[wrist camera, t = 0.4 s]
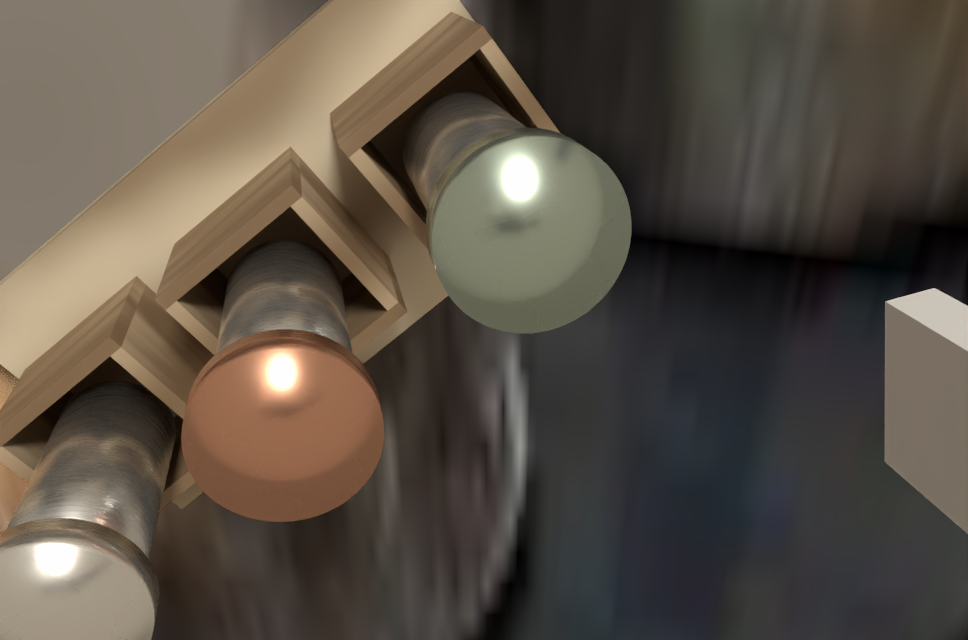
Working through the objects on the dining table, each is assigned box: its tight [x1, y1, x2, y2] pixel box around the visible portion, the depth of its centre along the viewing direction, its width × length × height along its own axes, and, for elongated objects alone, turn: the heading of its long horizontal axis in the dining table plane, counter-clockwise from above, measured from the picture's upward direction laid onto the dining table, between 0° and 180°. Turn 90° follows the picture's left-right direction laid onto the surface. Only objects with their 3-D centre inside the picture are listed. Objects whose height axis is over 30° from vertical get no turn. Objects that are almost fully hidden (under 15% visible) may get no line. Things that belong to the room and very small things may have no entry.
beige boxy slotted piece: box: [0, 0, 560, 511], centre depth 34 cm, size 12×23×8 cm, turn 127°
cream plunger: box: [0, 381, 176, 640], centre depth 28 cm, size 5×5×10 cm
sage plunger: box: [403, 91, 631, 334], centre depth 26 cm, size 5×5×10 cm
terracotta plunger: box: [181, 240, 384, 522], centre depth 27 cm, size 5×5×10 cm
